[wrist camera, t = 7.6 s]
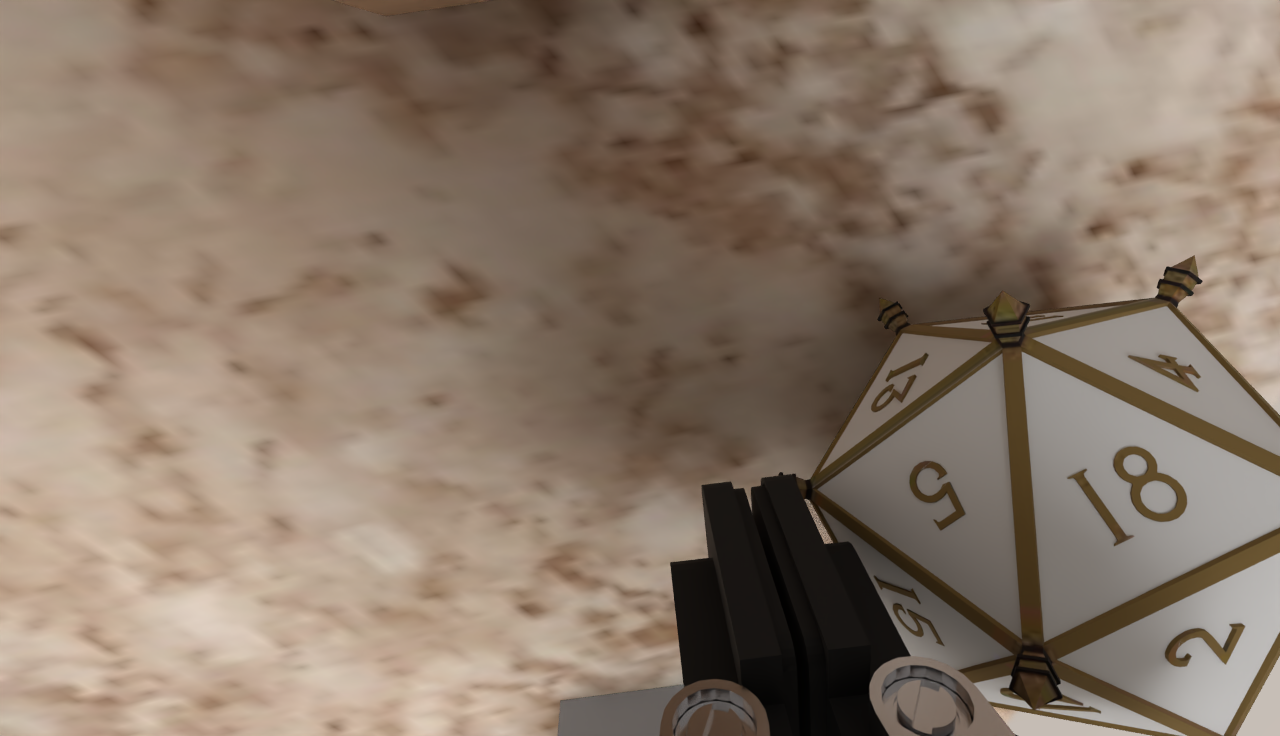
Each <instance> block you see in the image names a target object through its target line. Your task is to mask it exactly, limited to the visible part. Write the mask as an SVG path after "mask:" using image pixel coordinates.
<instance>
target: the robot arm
mask: <svg viewBox="0 0 1280 736" xmlns="http://www.w3.org/2000/svg"><path fill="white" fill-rule="evenodd" d="M702 498H703V507H704V517H705V527H706V537H707V547H708V557H709V558H704V559H696V560H688V561H679V562H671V563H670V565H671V574H672V583H673V592H674V601H675V611H676V620H677V629H678V638H679V647H680V656H681V665H682V674H683V683H684V688H683V689H681V690H680V691H679V692H678V693H676V694H675V695H674V696H673V697H672V698H671V700H670V701H669V703H668V704H667V706H666V707H665V709H664V713H663V716H662V720H661V725H660V735H659V736H1017V735H1015V734H1014V733H1013V732H1012V731H1011V729H1010V728H1009V727H1008V726H1007V724H1006V723H1005V722H1004V721H1003V719H1002V718H1001V717H1000V716H999V714H998V713H997V712H996V711H995V709H994V708H993V707H992V706H991V704H990V703H989V702H988V701H987V699H986V698H985V697H984V696H983V694H982V693H981V692H980V691H979V689H978V688H977V687H976V686H975V685H974V684H973V683H972V682H971V681H970V680H969V679H968V678H967V677H966V676H965V675H964V674H962V673H961V672H959V671H958V670H956V669H954V668H953V667H951V666H949V665H948V664H945V663H942V662H939V661H937V660H934V659H931V658H924V657H917V656H911V655H910V653H909V651H908V650H907V648H906V646H905V644H904V642H903V640H902V638H901V636H900V634H899V632H898V630H897V628H896V627H895V625H894V623H893V621H892V619H891V617H890V615H889V613H888V611H887V609H886V607H885V605H884V604H883V602H882V600H881V598H880V596H879V594H878V592H877V590H876V588H875V586H874V584H873V582H872V581H871V579H870V577H869V575H868V573H867V571H866V569H865V567H864V565H863V563H862V561H861V559H860V558H859V556H858V554H857V552H856V550H855V548H854V547H853V545H852V544H851V543H850V542H848V541H847V542H839V543H830V544H824V542H823V540H822V538H821V535H820V533H819V531H818V529H817V527H816V524H815V522H814V520H813V518H812V516H811V514H810V511H809V509H808V507H807V505H806V503H805V501H804V498H803V496H802V494H801V492H800V490H799V487H798V485H797V483H796V481H795V479H794V477H793V475H791V474H790V475H781V476H773V477H765V478H762V479H761V486H757V487H752V488H751V501H752V511H751V508H750V505H749V502H748V499H747V496H746V493H745V490H744V488H740V489H733V485H732V483H731V482H723V483H715V484H707V485H702Z"/></svg>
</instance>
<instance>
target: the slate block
mask: <svg viewBox="0 0 1280 736" xmlns="http://www.w3.org/2000/svg"><path fill="white" fill-rule="evenodd" d="M683 688H684V685H676V686H669V687H661V688H653V689H646V690H638V691H630V692H623V693H615V694H607V695H600V696H592V697H584V698H577V699H569V700H561V702H560V713H559V725H558V736H659V735H660V725H661V720H662V716H663V713H664V709H665V707H666V706H667V704H668V703H669V701H670V700H671V698H672V697H673V696H674V695H675V694H676V693H678V692H679V691H680V690H681V689H683Z"/></svg>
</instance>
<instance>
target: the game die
mask: <svg viewBox="0 0 1280 736" xmlns="http://www.w3.org/2000/svg"><path fill="white" fill-rule="evenodd" d="M1164 276H1165V277H1164V279H1160V280H1159V282H1158V285H1157V288H1158V289H1159V292H1158V295H1157V296H1156V297H1155V298H1149V299H1140V300H1131V301H1122V302H1112V303H1103V304H1094V305H1085V306H1076V307H1067V308H1058V309H1049V310H1039V311H1030V312H1027V311H1028V309H1029V307H1030V304H1027V303H1024V302H1020V301H1018V300H1016V299H1015V298H1013V297H1012V296H1010V295H1009V294H1007V293H1006V292H1004V291H1002V292H1001V293H1000V294H999V296H998V297H997V298H996V299H995V301H994V302H993V303H992V304H991V305H990V306H989V307H987V308H985V309H983V311H984V314H985V315H986V316H985V317H976V318H966V319H957V320H948V321H939V322H930V323H921V324H912V325H911V324H909V323H908V320H907V318H908V315H907V314H906V313H905V311H904V310H903V311H902V310H901V309H902V307H901V305H900V304H899V303H898V301H897V302H896V303H894V302H891V301H888V300H885V299H881V298H879V308H880V315H879V317H878V319H877V320H878V321H883V323H884V324H885V326H884V328H885V329H891V330H892V331H894V332H895V333H896V338H895V339H894V341H893V343H892V344H891V346H890V348H889V349H888V351H887V353H886V354H885V356H884V358H883V359H882V361H881V363H880V364H879V366H878V368H877V369H876V371H875V373H874V374H873V376H872V378H871V379H870V381H869V383H868V384H867V386H866V388H865V389H864V391H863V393H862V394H861V396H860V398H859V399H858V401H857V403H856V404H855V406H854V407H853V409H852V411H851V412H850V414H849V416H848V417H847V419H846V421H845V422H844V424H843V426H842V427H841V429H840V431H839V432H838V434H837V436H836V437H835V439H834V441H833V442H832V444H831V446H830V447H829V449H828V451H827V452H826V454H825V456H824V457H823V459H822V461H821V462H820V464H819V466H818V467H817V469H816V471H815V472H814V474H813V475H812V477H811V479H809V480H803V479H800V478H798V477H796V474H792V475H793V477H794V479H795V481H796V483H797V485H798V487H799V490H800V492H801V494H802V496H803V498H804V499H808V500H810V502H811V504H812V505H813V507H814V509H815V511H816V513H817V514H818V516H819V518H820V520H821V522H822V523H823V525H824V527H825V529H826V531H827V532H828V534H829V536H830V538H831V540H832V541H833V543H839V542H847V541H848V542H850V543H851V544H852V545H853V547H854V548H855V550H856V552H857V554H858V556H859V558H860V559H861V561H862V563H863V565H864V567H865V569H866V571H867V573H868V575H869V577H870V579H871V581H872V582H873V584H874V586H875V588H876V590H877V592H878V594H879V596H880V598H881V600H882V602H883V604H884V605H885V607H886V609H887V611H888V613H889V615H890V617H891V619H892V621H893V623H894V625H895V627H896V628H897V630H898V632H899V634H900V636H901V638H902V640H903V642H904V644H905V646H906V648H907V650H908V651H909V653H910V655H911V656H917V657H924V658H931V659H934V660H937V661H939V662H942V663H945V664H948V665H949V666H951V667H953V668H954V669H956V670H958V671H959V672H961V673H962V674H964V675H965V676H966V677H967V678H968V679H969V680H970V681H971V682H972V683H973V684H974V685H975V686H976V687H977V688H978V689H979V691H980V692H981V693H982V694H983V696H984V697H985V698H986V699H987V701H988V702H989V703H990V704H991V706H993V707H999V708H1004V709H1010V710H1015V711H1021V712H1026V713H1032V714H1037V715H1043V716H1048V717H1054V718H1059V719H1064V720H1070V721H1075V722H1081V723H1086V724H1092V725H1097V726H1103V727H1108V728H1114V729H1119V730H1125V731H1130V732H1135V733H1141V734H1146V735H1152V736H1236V734H1237V732H1238V730H1239V729H1240V727H1241V725H1242V723H1243V722H1244V720H1245V718H1246V716H1247V714H1248V712H1249V711H1250V709H1251V707H1252V705H1253V703H1254V702H1255V700H1256V698H1257V696H1258V694H1259V692H1260V691H1261V689H1262V686H1263V685H1264V683H1265V681H1266V680H1267V678H1268V676H1269V674H1270V672H1271V671H1272V669H1273V667H1274V665H1275V663H1276V661H1277V660H1278V658H1279V656H1280V415H1279V414H1278V413H1277V412H1276V411H1275V410H1274V409H1273V408H1272V407H1271V406H1270V405H1269V404H1268V403H1267V401H1266V400H1265V399H1264V398H1263V397H1262V396H1261V395H1260V394H1259V393H1258V392H1257V391H1256V390H1255V389H1254V388H1253V387H1252V386H1251V385H1250V384H1249V383H1248V382H1247V381H1246V380H1245V379H1244V377H1243V376H1242V375H1241V374H1240V373H1239V372H1238V371H1237V370H1236V369H1235V368H1234V367H1233V366H1232V365H1231V364H1230V363H1229V362H1228V361H1227V360H1226V359H1225V358H1224V357H1223V356H1222V354H1221V353H1220V352H1219V351H1218V350H1217V349H1216V348H1215V347H1214V346H1213V345H1212V344H1211V343H1210V342H1209V341H1208V340H1207V339H1206V338H1205V337H1204V336H1203V335H1202V334H1201V333H1200V332H1199V330H1198V329H1197V328H1196V327H1195V326H1194V325H1193V324H1192V323H1191V322H1190V321H1189V320H1188V319H1187V318H1186V317H1185V316H1184V315H1183V314H1182V313H1181V312H1180V311H1179V310H1178V309H1177V306H1178V303H1179V302H1180V301H1181V300H1182V299H1184V298H1185V297H1186V296H1192V295H1193V294H1194V293H1193V292H1192V289H1193V288H1194V286H1195V285H1196V284H1201V283H1202V282H1203V281H1202V280H1201V279H1199V278H1198V272H1197V266H1196V261H1195V255H1194V256H1192V257H1190V258H1188V259H1186V260H1185V261H1183V262H1181V263H1179V264H1177V265H1175V266H1173V267H1166V269H1165V272H1164ZM781 475H783V473H782V472H780V473H779V475H778V476H781Z"/></svg>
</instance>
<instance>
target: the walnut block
mask: <svg viewBox="0 0 1280 736" xmlns="http://www.w3.org/2000/svg"><path fill="white" fill-rule="evenodd" d="M333 1H336V2H340V3H343V4H346V5H350V6H353V7H357V8H360V9H363V10H367V11H370V12H374V13H377V14H380V15H384V16H390V15H397V14H404V13H410V12H417V11H424V10H431V9H438V8H444V7H451V6H458V5H465V4H471V3H478V2H485V1H492V0H333Z"/></svg>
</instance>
